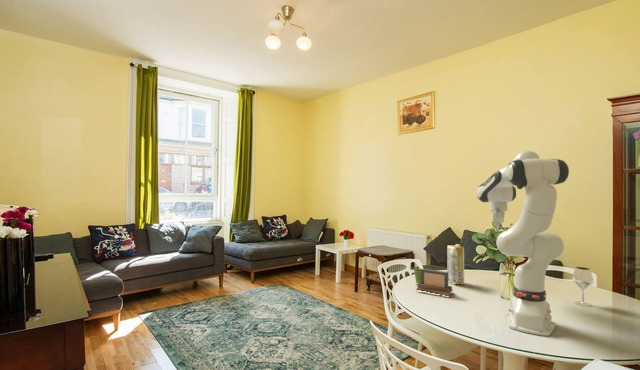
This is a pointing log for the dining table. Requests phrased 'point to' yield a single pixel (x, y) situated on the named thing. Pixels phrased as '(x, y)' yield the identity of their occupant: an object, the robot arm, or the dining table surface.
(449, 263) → the juice carton
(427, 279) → the picture frame
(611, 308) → the dining table surface
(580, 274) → the wineglass
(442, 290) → the picture ledge
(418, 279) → the plant pot
